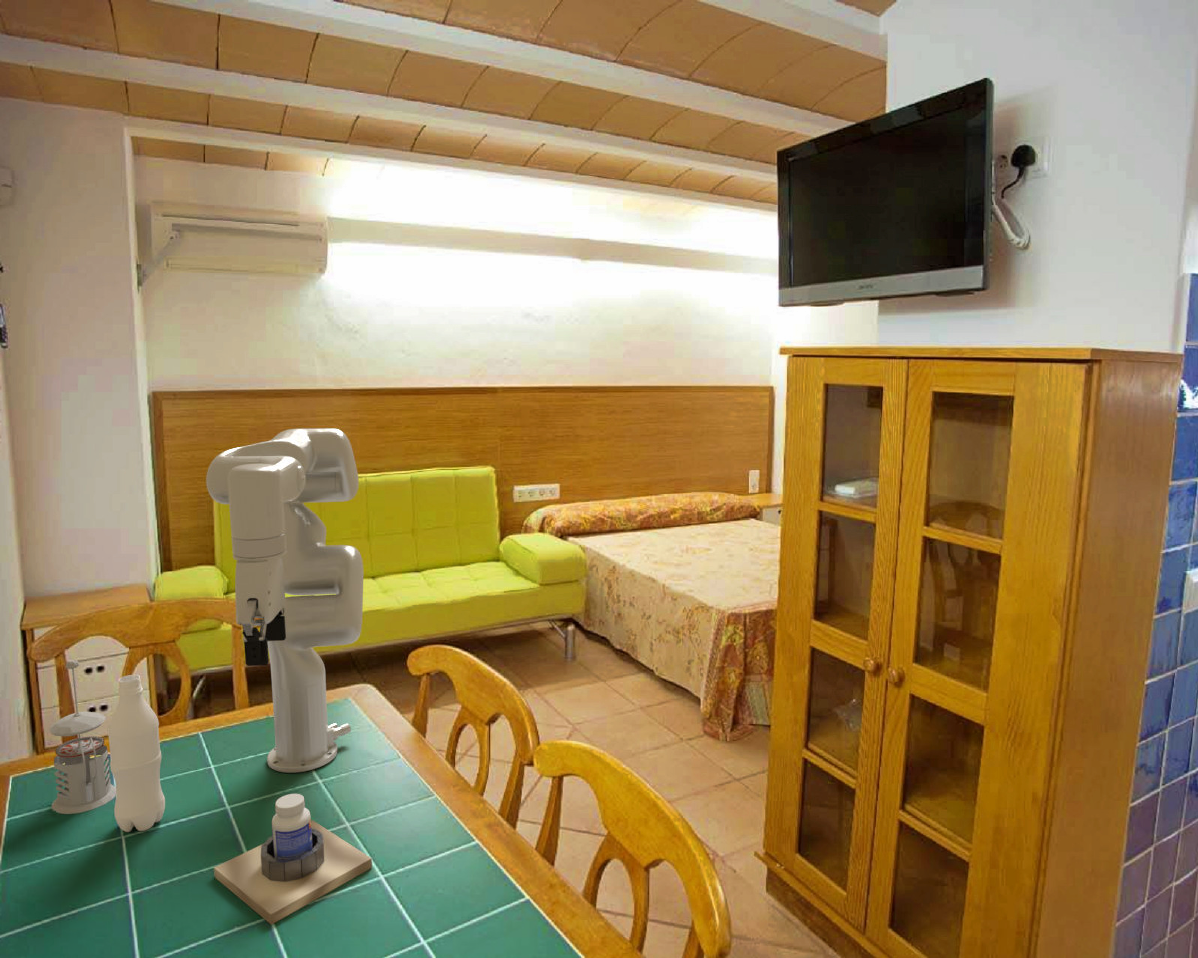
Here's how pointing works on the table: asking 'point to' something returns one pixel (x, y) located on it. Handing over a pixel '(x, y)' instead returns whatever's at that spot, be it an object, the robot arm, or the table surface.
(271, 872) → the collar
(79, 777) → the french press
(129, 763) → the water bottle
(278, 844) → the pill bottle
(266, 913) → the stand plate
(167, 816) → the table surface
